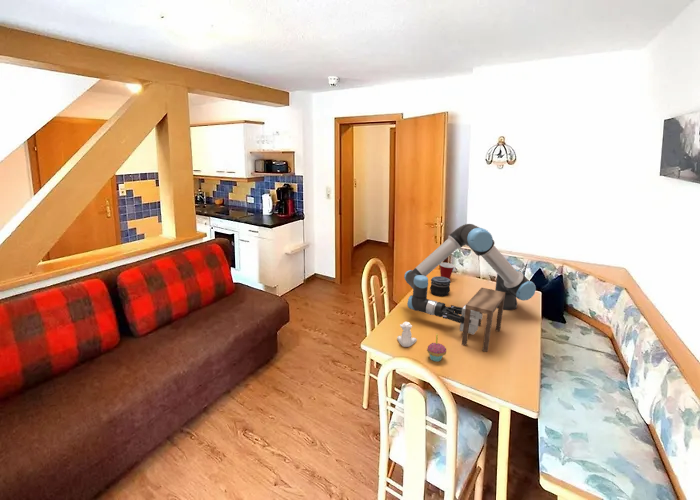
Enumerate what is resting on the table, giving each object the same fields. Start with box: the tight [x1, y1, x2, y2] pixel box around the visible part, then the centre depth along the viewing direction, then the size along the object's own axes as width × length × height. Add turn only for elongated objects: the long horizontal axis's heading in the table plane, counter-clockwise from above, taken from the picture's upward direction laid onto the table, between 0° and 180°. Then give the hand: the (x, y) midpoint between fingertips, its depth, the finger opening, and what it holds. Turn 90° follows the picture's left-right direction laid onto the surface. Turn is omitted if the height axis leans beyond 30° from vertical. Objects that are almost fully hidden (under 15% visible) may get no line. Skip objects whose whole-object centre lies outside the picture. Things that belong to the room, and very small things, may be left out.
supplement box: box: [459, 304, 480, 335], centre depth 193 cm, size 7×7×13 cm
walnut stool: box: [461, 287, 505, 353], centre depth 189 cm, size 12×28×21 cm, turn 147°
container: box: [429, 275, 452, 297], centre depth 247 cm, size 13×13×10 cm
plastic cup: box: [438, 262, 456, 280], centre depth 271 cm, size 11×11×12 cm
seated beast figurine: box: [396, 321, 418, 348], centre depth 182 cm, size 10×9×12 cm
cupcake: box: [426, 333, 447, 362], centre depth 170 cm, size 9×8×12 cm
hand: (480, 319), depth 190 cm, fingers closed on supplement box, 7 cm apart
